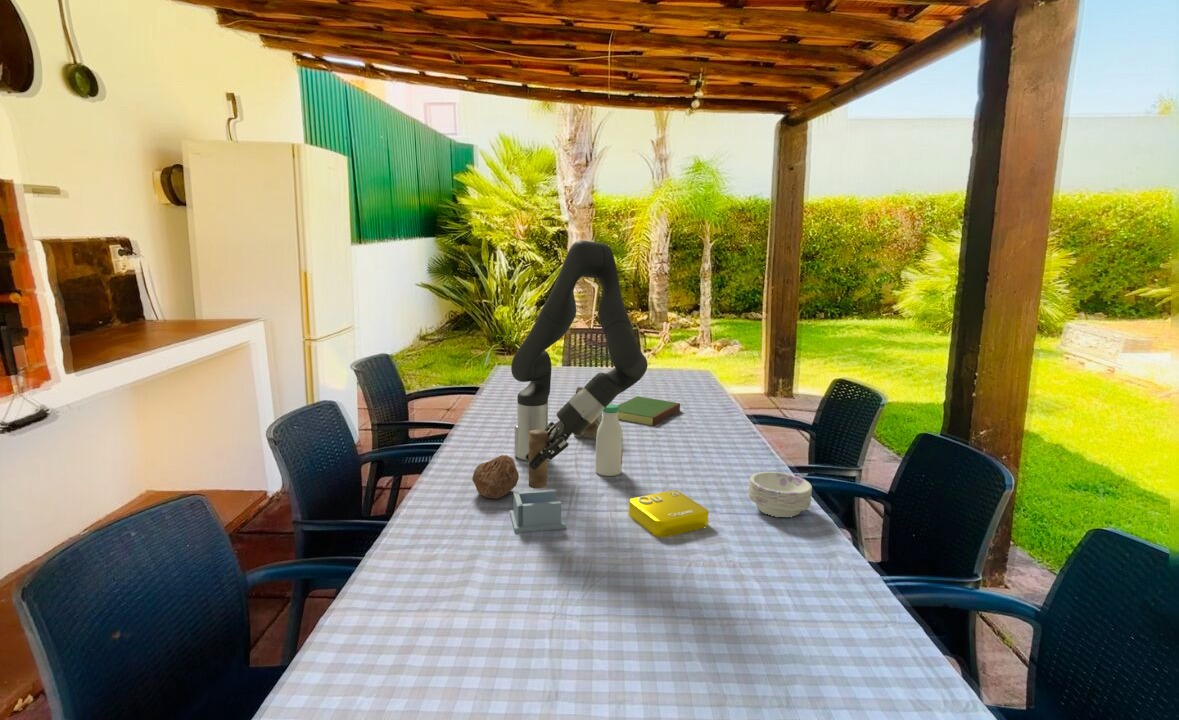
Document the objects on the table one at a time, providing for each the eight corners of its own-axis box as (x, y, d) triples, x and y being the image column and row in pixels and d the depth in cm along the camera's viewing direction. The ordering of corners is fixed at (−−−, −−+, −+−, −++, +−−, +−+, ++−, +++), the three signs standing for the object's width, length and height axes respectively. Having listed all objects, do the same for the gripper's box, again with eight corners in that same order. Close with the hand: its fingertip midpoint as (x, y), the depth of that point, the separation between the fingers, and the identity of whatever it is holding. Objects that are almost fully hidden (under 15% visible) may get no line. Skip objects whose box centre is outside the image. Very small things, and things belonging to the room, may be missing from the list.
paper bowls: (809, 503, 168) (812, 475, 167) (809, 528, 154) (812, 497, 152) (750, 495, 173) (752, 467, 171) (744, 517, 159) (746, 487, 157)
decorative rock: (503, 481, 178) (503, 446, 176) (529, 493, 171) (529, 457, 169) (463, 493, 169) (463, 457, 167) (488, 507, 161) (488, 469, 160)
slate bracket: (514, 532, 148) (514, 508, 147) (509, 514, 157) (509, 491, 156) (565, 528, 151) (566, 504, 150) (558, 510, 160) (558, 487, 159)
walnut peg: (525, 486, 151) (525, 433, 149) (534, 480, 155) (535, 428, 153) (541, 490, 149) (541, 436, 147) (550, 483, 153) (551, 431, 151)
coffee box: (573, 437, 218) (574, 391, 215) (575, 431, 224) (576, 386, 221) (600, 438, 217) (601, 392, 214) (602, 433, 223) (603, 388, 220)
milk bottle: (619, 478, 183) (621, 410, 179) (592, 475, 184) (594, 408, 180) (623, 468, 190) (626, 403, 186) (597, 466, 191) (599, 401, 188)
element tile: (658, 540, 147) (659, 521, 146) (625, 514, 160) (626, 496, 159) (711, 528, 153) (712, 509, 153) (675, 504, 167) (676, 487, 166)
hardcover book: (653, 427, 233) (654, 417, 233) (608, 418, 243) (608, 409, 242) (680, 412, 254) (681, 402, 254) (638, 404, 264) (638, 395, 263)
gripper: (564, 393, 157) (514, 443, 156) (576, 408, 143) (522, 463, 143) (585, 413, 159) (536, 463, 159) (598, 430, 145) (545, 484, 145)
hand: (529, 463), depth 151 cm, fingers closed on walnut peg, 4 cm apart
